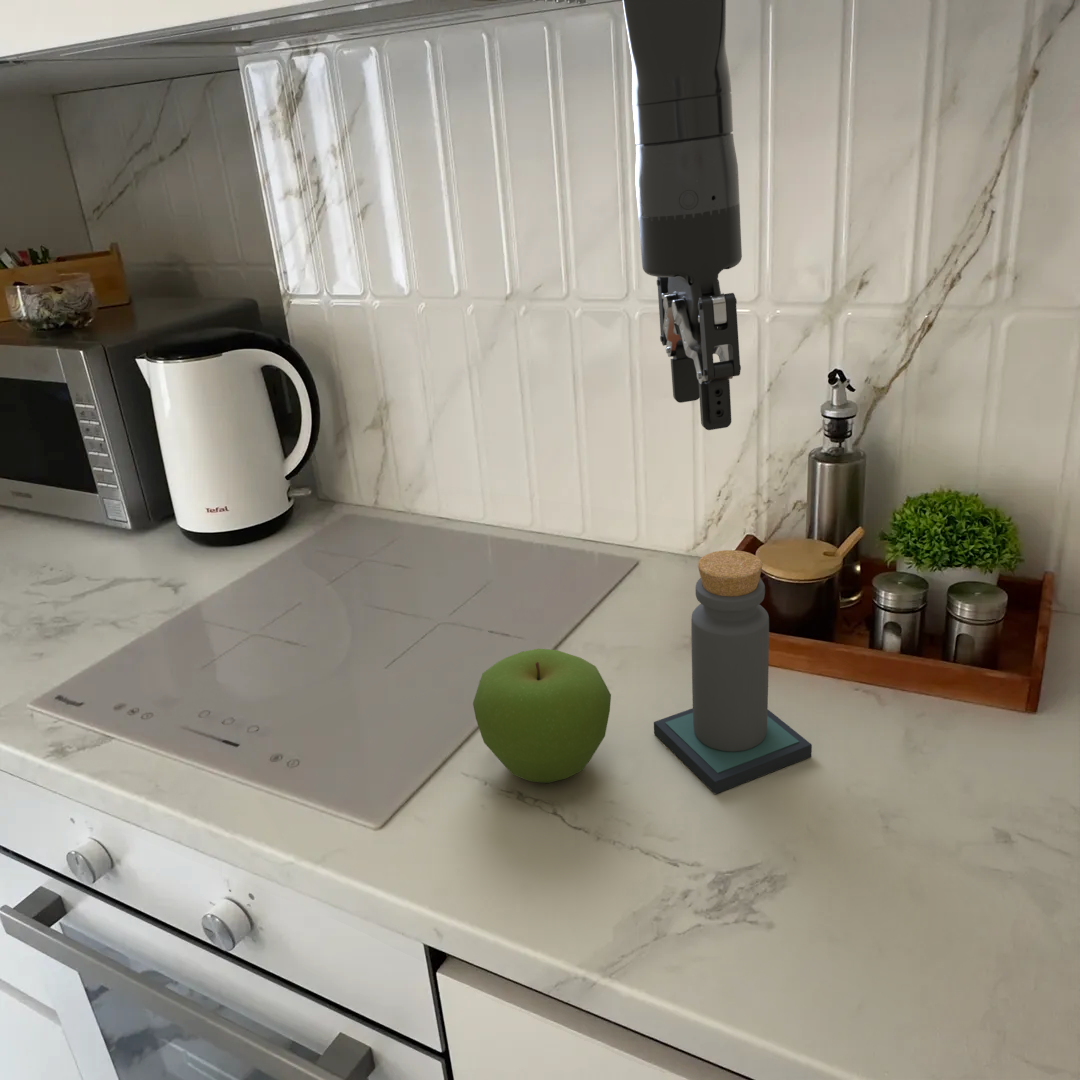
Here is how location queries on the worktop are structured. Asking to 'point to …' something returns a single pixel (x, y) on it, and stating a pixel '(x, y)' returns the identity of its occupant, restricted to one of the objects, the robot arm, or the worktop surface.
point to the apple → (542, 713)
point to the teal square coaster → (729, 766)
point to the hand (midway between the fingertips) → (701, 413)
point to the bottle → (730, 652)
